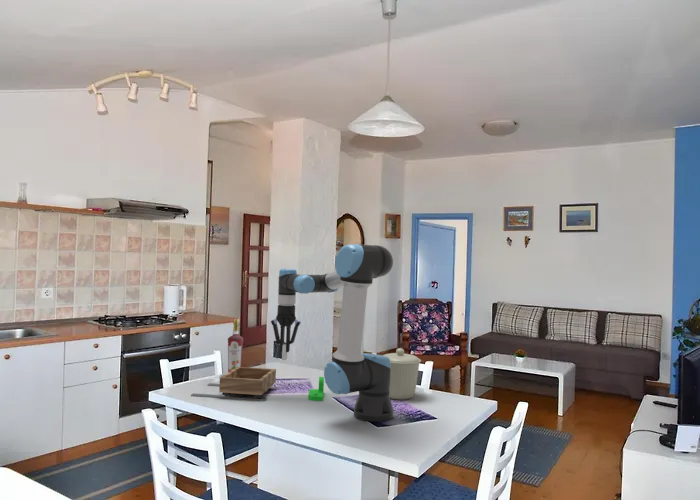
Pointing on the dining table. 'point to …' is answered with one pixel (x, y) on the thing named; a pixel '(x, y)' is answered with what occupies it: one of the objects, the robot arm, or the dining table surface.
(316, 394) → the mechanical part
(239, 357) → the liquor
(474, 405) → the dining table surface
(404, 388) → the canister
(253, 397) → the cart rails
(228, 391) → the wooden crate
